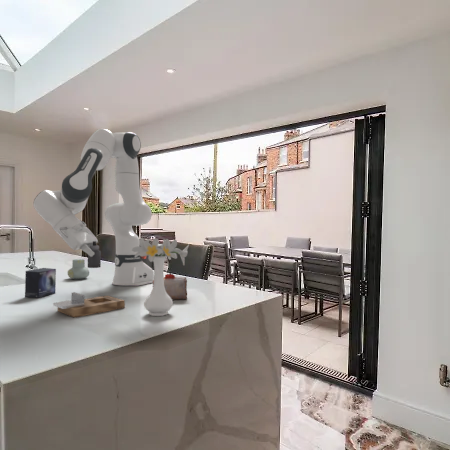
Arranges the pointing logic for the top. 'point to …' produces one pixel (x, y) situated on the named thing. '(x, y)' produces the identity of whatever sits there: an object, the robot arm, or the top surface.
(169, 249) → the flower vase
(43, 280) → the small box
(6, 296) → the top surface
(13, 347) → the top surface
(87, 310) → the socket
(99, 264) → the bottle
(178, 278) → the food item
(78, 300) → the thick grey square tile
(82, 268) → the air freshener
